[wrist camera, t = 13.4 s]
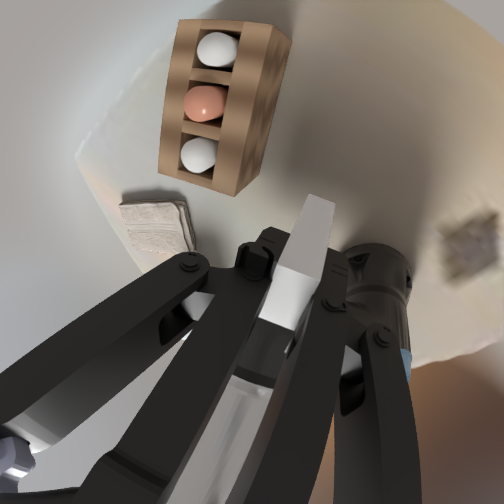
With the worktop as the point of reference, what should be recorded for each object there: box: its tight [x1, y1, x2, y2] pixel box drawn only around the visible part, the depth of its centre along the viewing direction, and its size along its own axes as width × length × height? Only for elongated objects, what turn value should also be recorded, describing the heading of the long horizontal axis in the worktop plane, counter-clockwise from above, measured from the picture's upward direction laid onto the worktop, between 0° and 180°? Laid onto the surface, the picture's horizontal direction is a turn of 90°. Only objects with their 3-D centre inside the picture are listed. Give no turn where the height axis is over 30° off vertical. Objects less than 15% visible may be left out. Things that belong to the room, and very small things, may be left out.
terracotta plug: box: [183, 86, 229, 122], centre depth 31 cm, size 4×4×9 cm
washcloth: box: [119, 199, 196, 254], centre depth 54 cm, size 12×18×3 cm, turn 98°
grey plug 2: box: [181, 136, 219, 173], centre depth 36 cm, size 4×4×9 cm
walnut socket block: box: [158, 19, 292, 197], centre depth 32 cm, size 22×12×10 cm, turn 167°
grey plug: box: [197, 32, 240, 69], centre depth 28 cm, size 4×4×9 cm
